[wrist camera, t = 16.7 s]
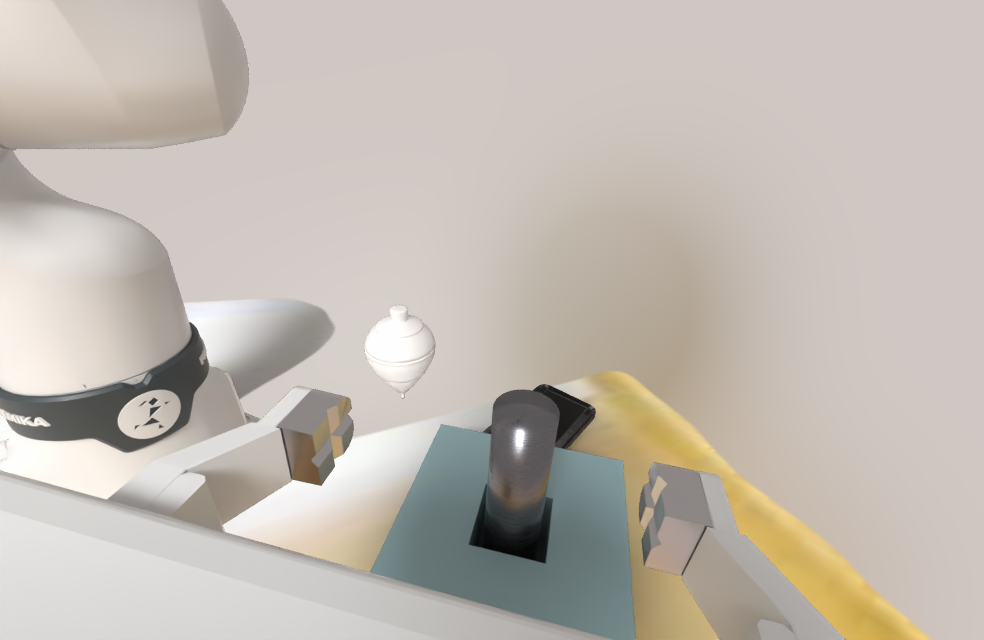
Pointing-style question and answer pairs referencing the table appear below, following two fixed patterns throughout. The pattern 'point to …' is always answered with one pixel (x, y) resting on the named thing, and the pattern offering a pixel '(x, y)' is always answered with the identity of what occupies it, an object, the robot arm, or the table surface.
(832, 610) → the table surface
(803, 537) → the table surface
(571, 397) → the phone
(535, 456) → the pin
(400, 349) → the spinning top
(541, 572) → the hole block
